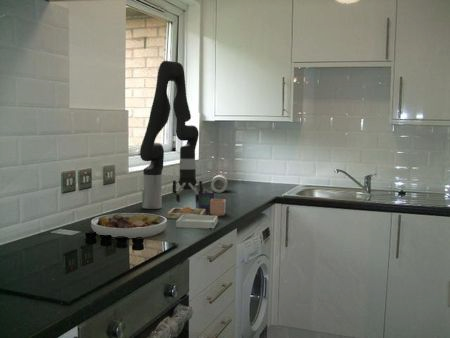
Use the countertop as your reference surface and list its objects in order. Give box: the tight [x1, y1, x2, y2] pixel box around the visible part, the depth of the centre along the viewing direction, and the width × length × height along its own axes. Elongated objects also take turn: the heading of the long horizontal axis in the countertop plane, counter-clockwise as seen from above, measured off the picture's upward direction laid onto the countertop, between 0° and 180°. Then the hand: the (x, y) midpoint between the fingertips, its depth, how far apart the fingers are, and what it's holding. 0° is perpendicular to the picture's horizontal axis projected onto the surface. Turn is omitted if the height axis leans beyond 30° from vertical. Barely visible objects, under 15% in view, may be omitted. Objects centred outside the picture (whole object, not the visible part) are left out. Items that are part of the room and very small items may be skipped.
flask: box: [195, 188, 215, 211], centre depth 249 cm, size 9×3×11 cm, turn 109°
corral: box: [166, 207, 207, 219], centre depth 233 cm, size 16×14×2 cm
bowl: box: [90, 212, 168, 239], centre depth 199 cm, size 30×30×8 cm
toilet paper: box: [210, 174, 228, 194], centre depth 312 cm, size 10×10×10 cm
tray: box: [175, 214, 219, 230], centre depth 214 cm, size 16×14×3 cm
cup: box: [209, 198, 226, 217], centre depth 237 cm, size 7×7×7 cm
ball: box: [182, 205, 192, 214], centre depth 233 cm, size 4×4×4 cm
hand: (187, 202), depth 232 cm, fingers open, 8 cm apart
